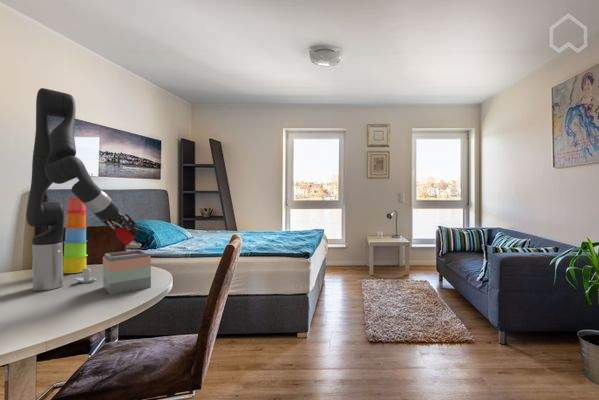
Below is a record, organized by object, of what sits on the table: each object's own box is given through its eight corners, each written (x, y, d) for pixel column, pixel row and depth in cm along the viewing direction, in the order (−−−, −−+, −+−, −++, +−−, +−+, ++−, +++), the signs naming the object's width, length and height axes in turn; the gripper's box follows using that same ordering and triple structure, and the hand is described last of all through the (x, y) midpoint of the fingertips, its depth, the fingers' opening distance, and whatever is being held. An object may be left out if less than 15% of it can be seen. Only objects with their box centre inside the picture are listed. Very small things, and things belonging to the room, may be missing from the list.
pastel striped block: (109, 294, 113) (109, 258, 113) (103, 287, 122) (102, 253, 122) (150, 287, 123) (150, 253, 122) (142, 280, 132) (141, 249, 131)
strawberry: (115, 245, 123) (115, 219, 123) (137, 243, 127) (137, 218, 126) (115, 247, 118) (114, 220, 118) (137, 245, 121) (137, 219, 121)
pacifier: (77, 281, 131) (75, 285, 126) (77, 266, 131) (75, 269, 126) (98, 279, 135) (96, 282, 129) (98, 265, 135) (96, 267, 129)
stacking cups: (60, 271, 148) (59, 197, 147) (86, 267, 155) (85, 197, 154) (62, 275, 140) (61, 198, 140) (90, 271, 147) (89, 197, 146)
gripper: (121, 197, 112) (149, 227, 123) (94, 197, 118) (123, 225, 129) (107, 212, 107) (137, 242, 118) (80, 212, 113) (111, 240, 124)
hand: (130, 233), depth 124 cm, fingers closed on strawberry, 6 cm apart
